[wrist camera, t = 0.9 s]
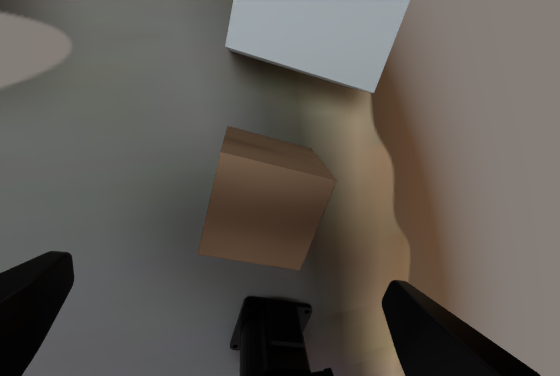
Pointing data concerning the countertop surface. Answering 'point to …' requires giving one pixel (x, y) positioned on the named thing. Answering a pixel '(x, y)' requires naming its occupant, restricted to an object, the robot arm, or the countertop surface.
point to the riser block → (319, 36)
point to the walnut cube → (265, 201)
